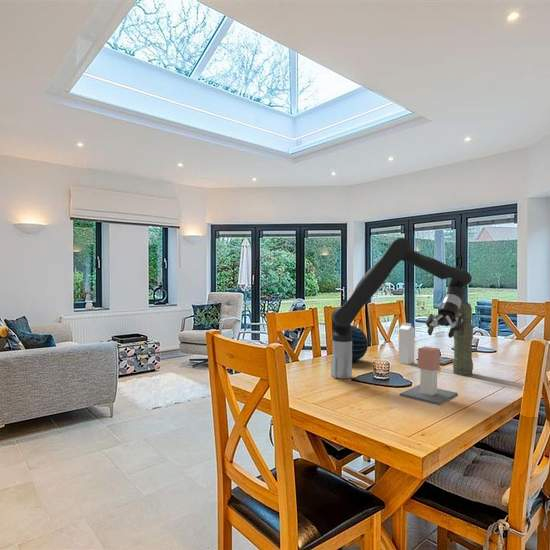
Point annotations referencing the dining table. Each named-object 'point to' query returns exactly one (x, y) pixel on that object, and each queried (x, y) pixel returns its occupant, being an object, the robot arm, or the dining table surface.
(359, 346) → the decorative sphere
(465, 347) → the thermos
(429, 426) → the dining table surface
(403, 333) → the milk
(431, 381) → the square base with post
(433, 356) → the cap
